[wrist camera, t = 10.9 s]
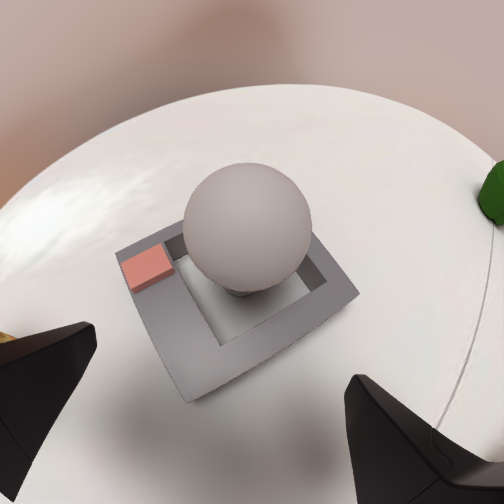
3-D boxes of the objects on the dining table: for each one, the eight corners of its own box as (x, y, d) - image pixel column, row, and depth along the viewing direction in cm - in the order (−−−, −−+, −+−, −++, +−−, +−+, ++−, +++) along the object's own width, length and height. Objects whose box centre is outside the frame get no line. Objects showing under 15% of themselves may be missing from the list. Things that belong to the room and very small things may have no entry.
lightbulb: (265, 239, 22) (293, 129, 12) (292, 310, 19) (355, 235, 10) (191, 257, 21) (165, 149, 11) (211, 333, 18) (189, 277, 8)
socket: (343, 307, 20) (365, 289, 16) (193, 401, 16) (183, 404, 12) (265, 204, 24) (271, 174, 20) (128, 271, 20) (111, 247, 16)
